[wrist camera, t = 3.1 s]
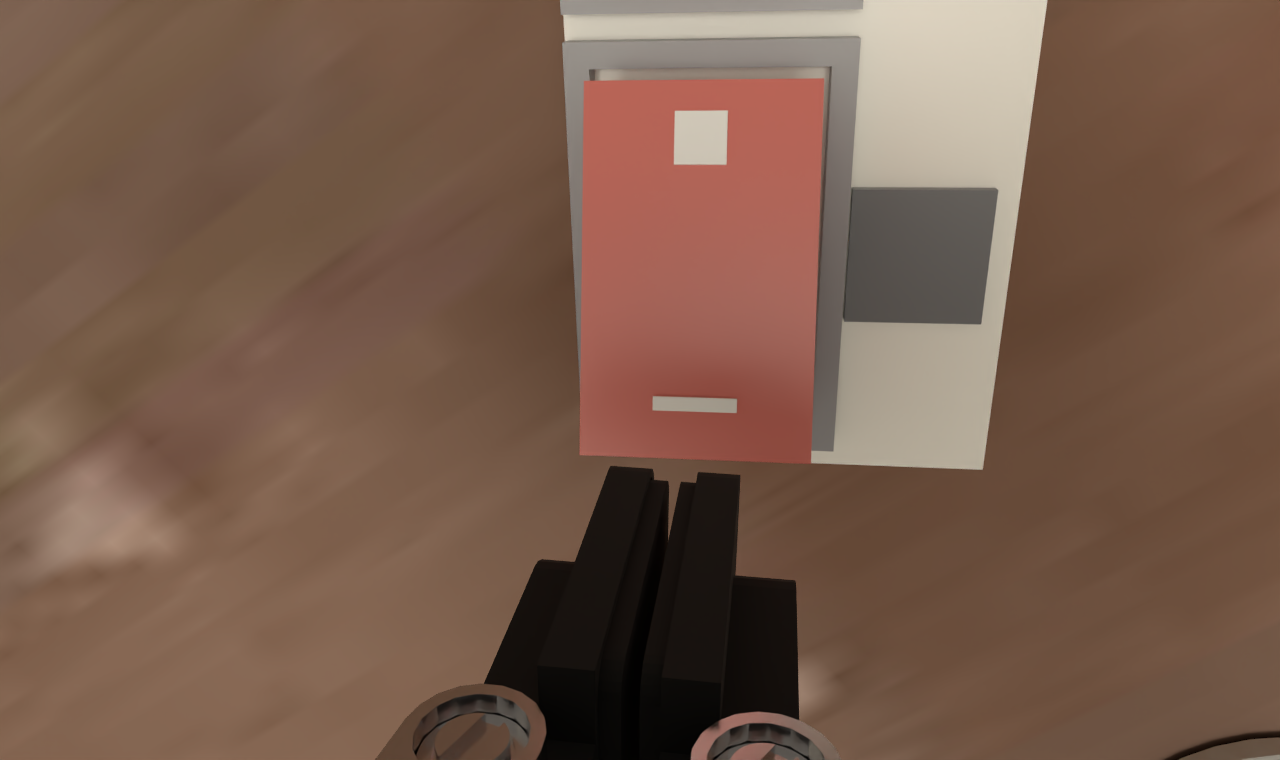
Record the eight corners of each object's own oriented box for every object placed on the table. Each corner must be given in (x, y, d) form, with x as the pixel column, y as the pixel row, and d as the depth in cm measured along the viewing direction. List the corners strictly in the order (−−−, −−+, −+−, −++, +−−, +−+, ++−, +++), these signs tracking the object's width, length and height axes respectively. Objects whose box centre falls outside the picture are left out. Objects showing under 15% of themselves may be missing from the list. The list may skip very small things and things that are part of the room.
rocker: (815, 106, 22) (824, 77, 19) (803, 442, 23) (811, 464, 20) (606, 108, 23) (582, 79, 20) (601, 434, 24) (578, 455, 21)
